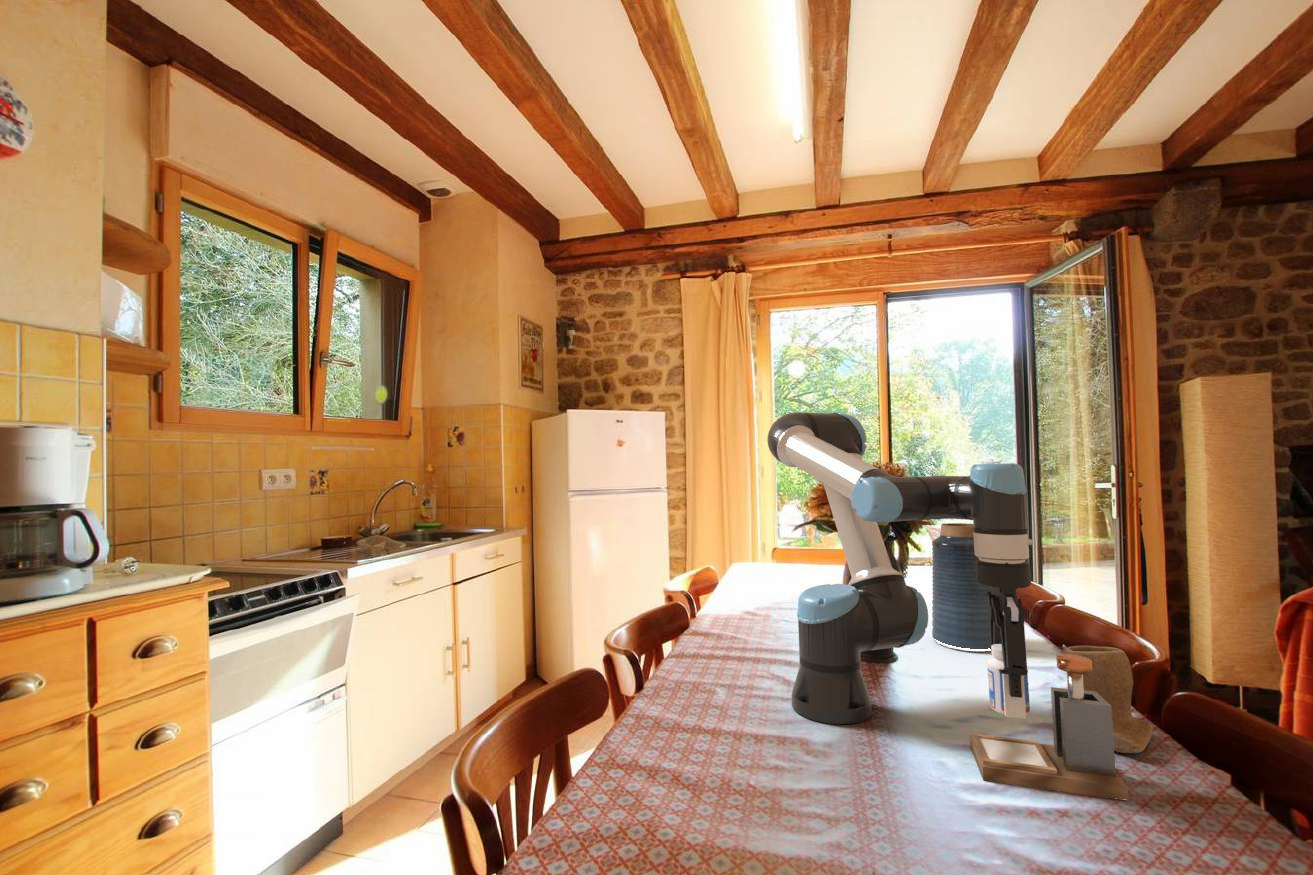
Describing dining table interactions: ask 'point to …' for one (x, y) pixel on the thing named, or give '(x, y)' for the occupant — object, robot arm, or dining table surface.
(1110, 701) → the tan suede boot
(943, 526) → the vase
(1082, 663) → the orange capped plunger
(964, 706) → the dining table surface
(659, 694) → the dining table surface
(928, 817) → the dining table surface
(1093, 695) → the press frame
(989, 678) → the pill bottle
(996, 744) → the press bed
